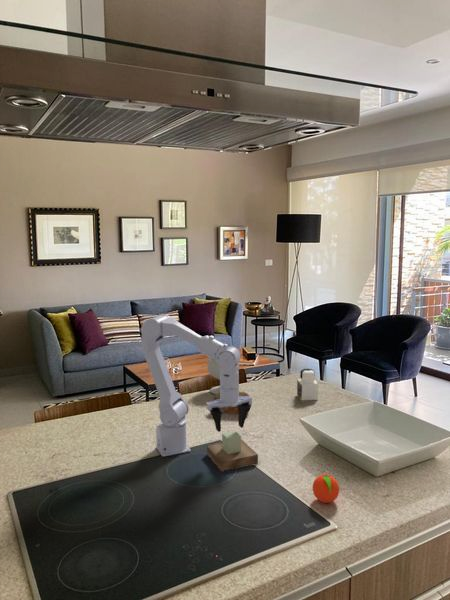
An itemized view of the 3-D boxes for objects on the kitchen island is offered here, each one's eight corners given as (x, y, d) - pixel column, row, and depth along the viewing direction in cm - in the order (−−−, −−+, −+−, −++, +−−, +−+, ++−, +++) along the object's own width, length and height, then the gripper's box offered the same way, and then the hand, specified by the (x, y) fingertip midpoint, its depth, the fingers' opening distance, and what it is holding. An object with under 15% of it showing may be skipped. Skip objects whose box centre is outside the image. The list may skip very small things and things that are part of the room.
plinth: (221, 471, 147) (221, 462, 146) (207, 454, 158) (206, 445, 157) (257, 463, 151) (257, 454, 151) (241, 447, 162) (241, 439, 162)
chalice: (242, 395, 212) (242, 361, 210) (210, 397, 210) (209, 363, 208) (235, 385, 226) (235, 353, 224) (205, 387, 223) (204, 354, 221)
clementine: (343, 509, 127) (344, 483, 126) (317, 511, 126) (317, 485, 125) (334, 493, 135) (335, 468, 134) (309, 494, 134) (309, 469, 133)
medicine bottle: (296, 395, 212) (297, 367, 210) (313, 394, 213) (313, 367, 211) (301, 400, 205) (301, 372, 203) (318, 400, 206) (318, 372, 204)
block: (228, 454, 151) (227, 438, 151) (222, 448, 155) (222, 433, 155) (241, 451, 153) (240, 436, 152) (235, 445, 157) (235, 430, 156)
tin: (213, 412, 194) (212, 391, 193) (215, 409, 197) (215, 388, 196) (250, 415, 190) (250, 394, 189) (252, 412, 193) (252, 391, 192)
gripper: (212, 393, 147) (212, 437, 149) (256, 387, 152) (256, 429, 154) (203, 386, 153) (204, 428, 155) (246, 380, 158) (246, 421, 160)
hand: (229, 428), depth 155 cm, fingers open, 7 cm apart
